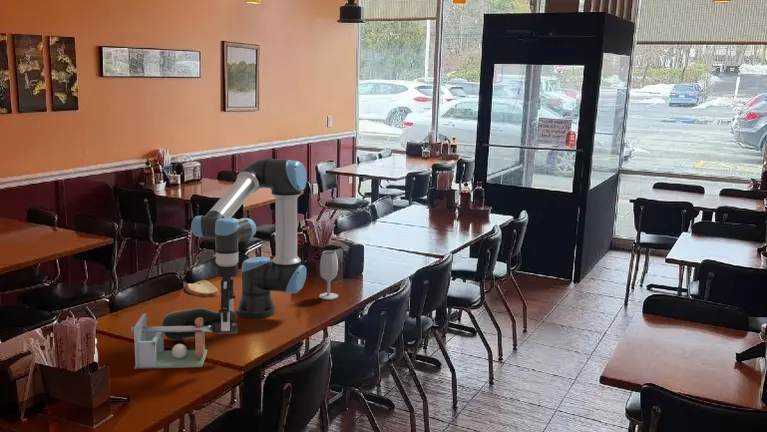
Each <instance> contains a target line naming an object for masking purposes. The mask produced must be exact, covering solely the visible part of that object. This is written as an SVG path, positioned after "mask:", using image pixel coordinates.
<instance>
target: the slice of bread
mask: <svg viewBox="0 0 767 432" xmlns="http://www.w3.org/2000/svg"><path fill="white" fill-rule="evenodd" d="M185 291H186V292H187V293H189V294H190V295H193V296H196V297H202V298H215V297H220V296H221V293H220V292H219V289H218V288H217V287H216V286H215V285H214V284H213V283H211V282H210V281H208V280H206V279H201V280H198V281H196V282H194V283H187V284H186V286H185Z"/></svg>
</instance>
